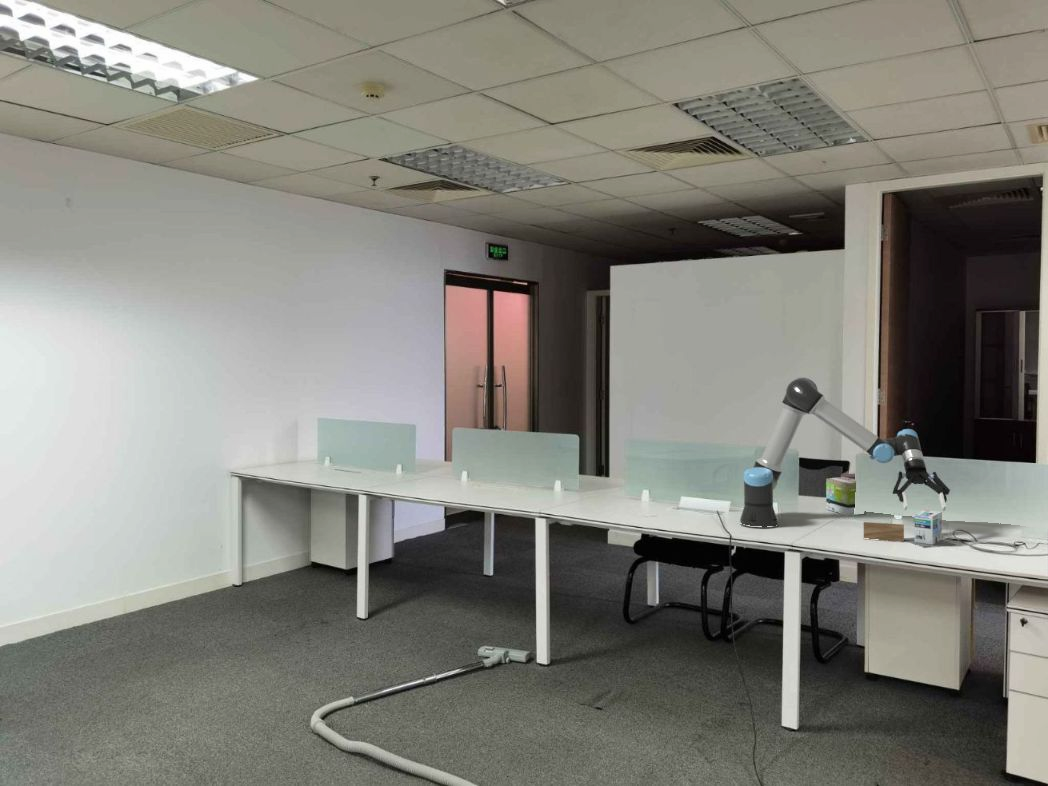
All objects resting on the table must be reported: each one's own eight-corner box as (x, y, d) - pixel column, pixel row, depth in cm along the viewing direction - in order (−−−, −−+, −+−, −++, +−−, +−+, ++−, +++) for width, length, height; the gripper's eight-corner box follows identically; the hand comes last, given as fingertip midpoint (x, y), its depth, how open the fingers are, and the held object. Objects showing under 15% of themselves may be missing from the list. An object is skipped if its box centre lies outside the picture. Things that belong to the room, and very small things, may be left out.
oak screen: (903, 542, 302) (903, 525, 302) (863, 539, 308) (863, 522, 308) (903, 541, 303) (903, 524, 303) (863, 538, 309) (863, 521, 309)
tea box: (825, 510, 364) (825, 477, 363) (843, 508, 367) (843, 476, 366) (847, 516, 350) (847, 482, 349) (866, 514, 353) (866, 481, 352)
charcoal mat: (923, 547, 294) (923, 546, 294) (901, 539, 306) (901, 538, 306) (955, 545, 296) (955, 544, 296) (931, 537, 309) (931, 536, 308)
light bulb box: (933, 545, 295) (933, 516, 294) (913, 542, 300) (913, 514, 299) (942, 539, 302) (942, 511, 302) (923, 537, 307) (923, 509, 307)
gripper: (945, 469, 319) (958, 514, 306) (879, 468, 324) (888, 513, 310) (950, 458, 314) (963, 503, 300) (882, 457, 319) (892, 502, 305)
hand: (925, 508), depth 305 cm, fingers open, 13 cm apart
